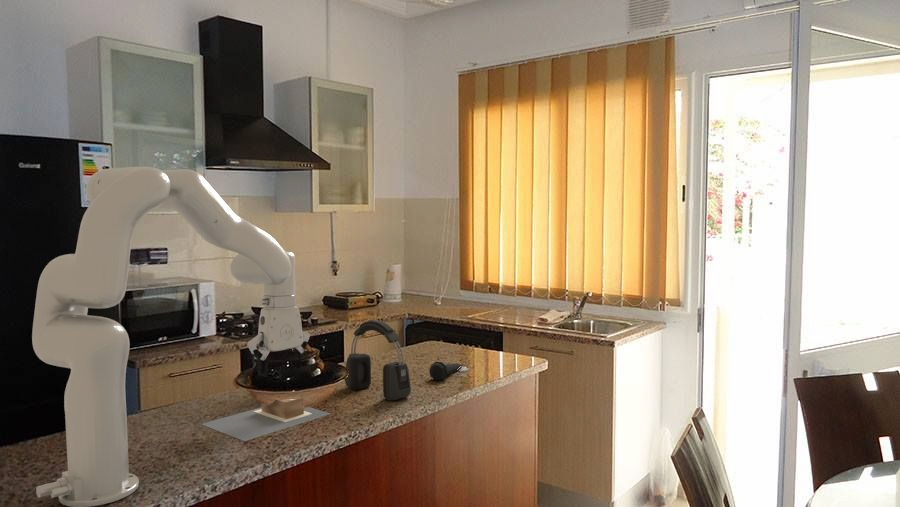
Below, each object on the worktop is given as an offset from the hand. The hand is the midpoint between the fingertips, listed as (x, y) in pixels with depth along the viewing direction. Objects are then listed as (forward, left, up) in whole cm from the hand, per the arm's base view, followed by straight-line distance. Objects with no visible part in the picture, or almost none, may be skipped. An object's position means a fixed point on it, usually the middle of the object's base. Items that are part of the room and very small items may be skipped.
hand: (280, 372), depth 158 cm
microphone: (+56, -7, -11) cm, 58 cm away
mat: (-4, -1, -11) cm, 12 cm away
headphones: (+29, -4, -11) cm, 31 cm away
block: (+1, 0, -10) cm, 10 cm away
